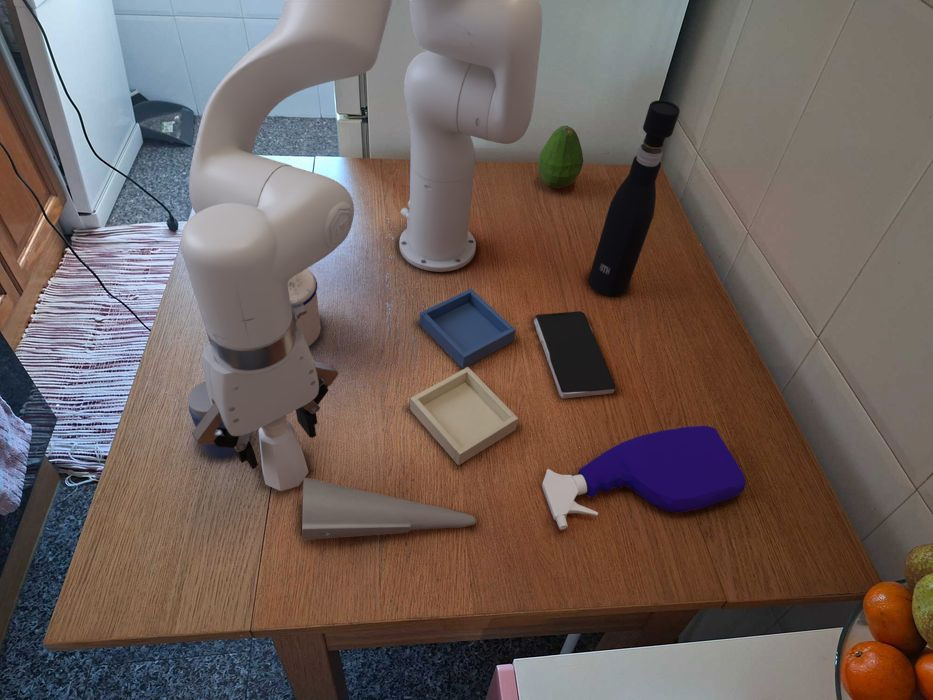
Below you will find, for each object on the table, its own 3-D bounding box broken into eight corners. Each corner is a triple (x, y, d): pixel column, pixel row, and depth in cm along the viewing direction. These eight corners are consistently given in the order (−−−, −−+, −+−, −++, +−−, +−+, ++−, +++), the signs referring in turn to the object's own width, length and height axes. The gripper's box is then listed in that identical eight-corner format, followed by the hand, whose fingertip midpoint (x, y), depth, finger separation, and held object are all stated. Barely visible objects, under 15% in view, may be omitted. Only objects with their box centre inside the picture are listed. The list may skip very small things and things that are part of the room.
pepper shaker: (197, 437, 79) (178, 391, 72) (234, 419, 81) (220, 373, 74) (213, 465, 76) (196, 420, 70) (251, 445, 79) (238, 400, 72)
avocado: (533, 193, 120) (543, 134, 111) (536, 171, 125) (547, 112, 116) (575, 200, 119) (590, 141, 110) (577, 177, 125) (591, 119, 116)
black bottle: (626, 272, 106) (686, 98, 84) (629, 299, 102) (693, 122, 80) (587, 268, 106) (637, 92, 84) (588, 294, 102) (642, 116, 80)
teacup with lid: (324, 309, 95) (317, 246, 87) (320, 355, 89) (311, 293, 80) (241, 308, 94) (225, 245, 85) (230, 355, 88) (212, 292, 79)
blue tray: (419, 324, 95) (419, 312, 93) (469, 300, 99) (471, 288, 97) (462, 369, 90) (464, 357, 88) (513, 341, 94) (516, 329, 92)
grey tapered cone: (474, 464, 74) (303, 468, 70) (481, 517, 71) (302, 525, 66) (464, 484, 79) (303, 489, 75) (471, 535, 75) (302, 544, 71)
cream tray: (409, 409, 84) (410, 397, 82) (466, 378, 88) (467, 366, 87) (458, 465, 79) (459, 454, 77) (515, 429, 83) (518, 418, 81)
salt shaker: (304, 493, 75) (293, 439, 67) (257, 490, 75) (240, 436, 66) (312, 453, 78) (303, 397, 70) (267, 451, 78) (252, 394, 70)
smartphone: (561, 394, 87) (533, 314, 96) (559, 399, 87) (531, 320, 97) (617, 388, 88) (584, 310, 98) (615, 393, 89) (582, 316, 99)
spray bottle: (710, 416, 84) (532, 452, 78) (757, 489, 77) (565, 534, 71) (703, 429, 86) (529, 465, 80) (747, 501, 79) (560, 546, 73)
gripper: (316, 276, 65) (330, 388, 78) (141, 346, 57) (189, 458, 70) (356, 320, 61) (363, 430, 74) (174, 402, 53) (218, 509, 66)
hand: (278, 442), depth 72 cm, fingers open, 6 cm apart
